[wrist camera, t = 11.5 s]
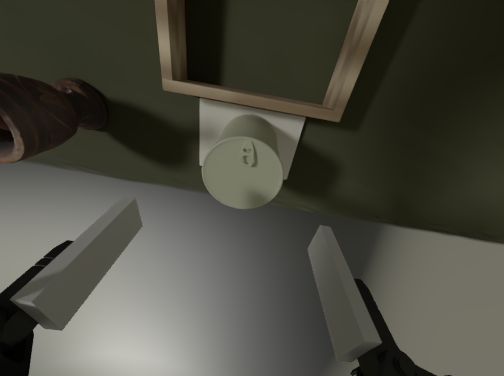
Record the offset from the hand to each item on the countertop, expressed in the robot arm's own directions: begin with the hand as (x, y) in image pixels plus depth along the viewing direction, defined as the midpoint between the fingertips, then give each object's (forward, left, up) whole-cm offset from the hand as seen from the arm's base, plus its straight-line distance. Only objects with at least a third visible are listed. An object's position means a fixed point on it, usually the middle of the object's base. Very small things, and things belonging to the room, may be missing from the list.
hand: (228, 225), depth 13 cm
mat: (0, 0, -20) cm, 20 cm away
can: (0, 0, -19) cm, 19 cm away
